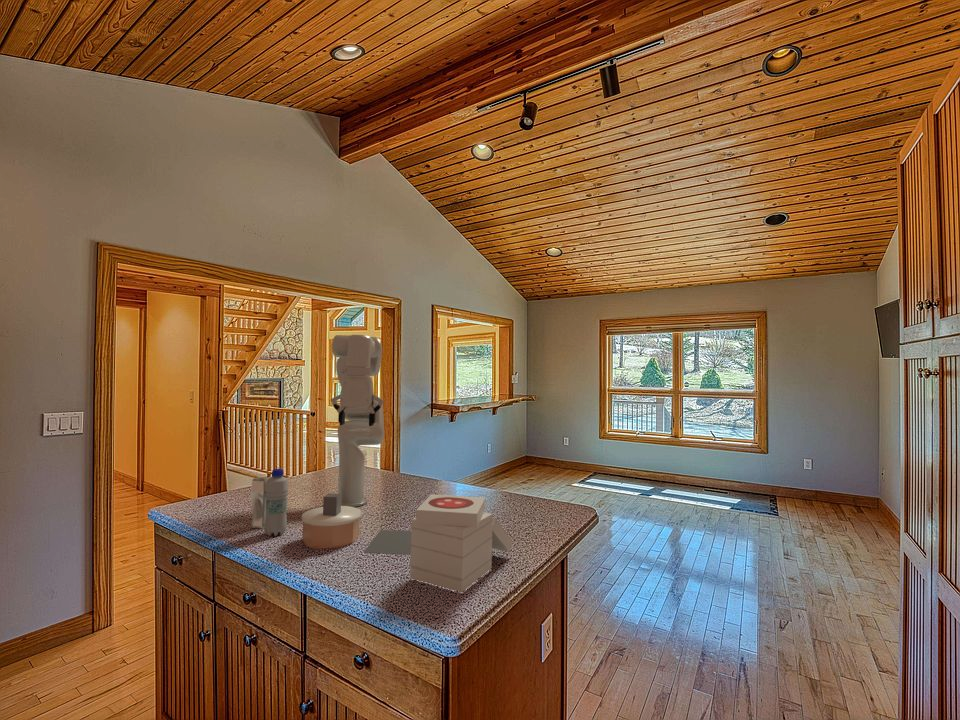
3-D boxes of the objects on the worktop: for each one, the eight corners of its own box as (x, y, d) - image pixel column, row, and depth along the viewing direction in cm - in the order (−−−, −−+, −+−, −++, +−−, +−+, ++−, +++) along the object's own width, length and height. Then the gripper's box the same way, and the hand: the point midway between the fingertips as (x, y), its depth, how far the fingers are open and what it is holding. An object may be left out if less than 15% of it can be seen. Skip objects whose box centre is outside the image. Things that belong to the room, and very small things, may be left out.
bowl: (316, 531, 149) (317, 509, 149) (363, 533, 148) (363, 510, 148) (295, 549, 134) (296, 524, 134) (347, 551, 133) (348, 526, 133)
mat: (380, 531, 150) (380, 529, 150) (440, 534, 149) (440, 532, 149) (363, 554, 131) (363, 552, 131) (431, 557, 130) (431, 555, 130)
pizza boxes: (518, 556, 132) (520, 491, 133) (464, 600, 106) (465, 519, 106) (460, 543, 141) (462, 482, 142) (396, 580, 115) (398, 506, 116)
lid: (315, 507, 150) (315, 487, 150) (367, 509, 149) (368, 489, 149) (291, 525, 133) (292, 501, 133) (350, 527, 132) (351, 504, 132)
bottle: (291, 531, 148) (294, 467, 148) (276, 538, 141) (278, 471, 142) (274, 529, 150) (276, 465, 150) (258, 535, 144) (260, 469, 144)
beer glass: (264, 529, 149) (265, 482, 149) (244, 527, 150) (246, 480, 151) (277, 523, 156) (279, 477, 156) (259, 521, 157) (260, 476, 157)
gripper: (328, 372, 151) (326, 425, 150) (381, 373, 150) (379, 427, 149) (336, 372, 158) (334, 423, 158) (387, 373, 157) (385, 424, 157)
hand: (356, 425), depth 154 cm, fingers open, 9 cm apart
